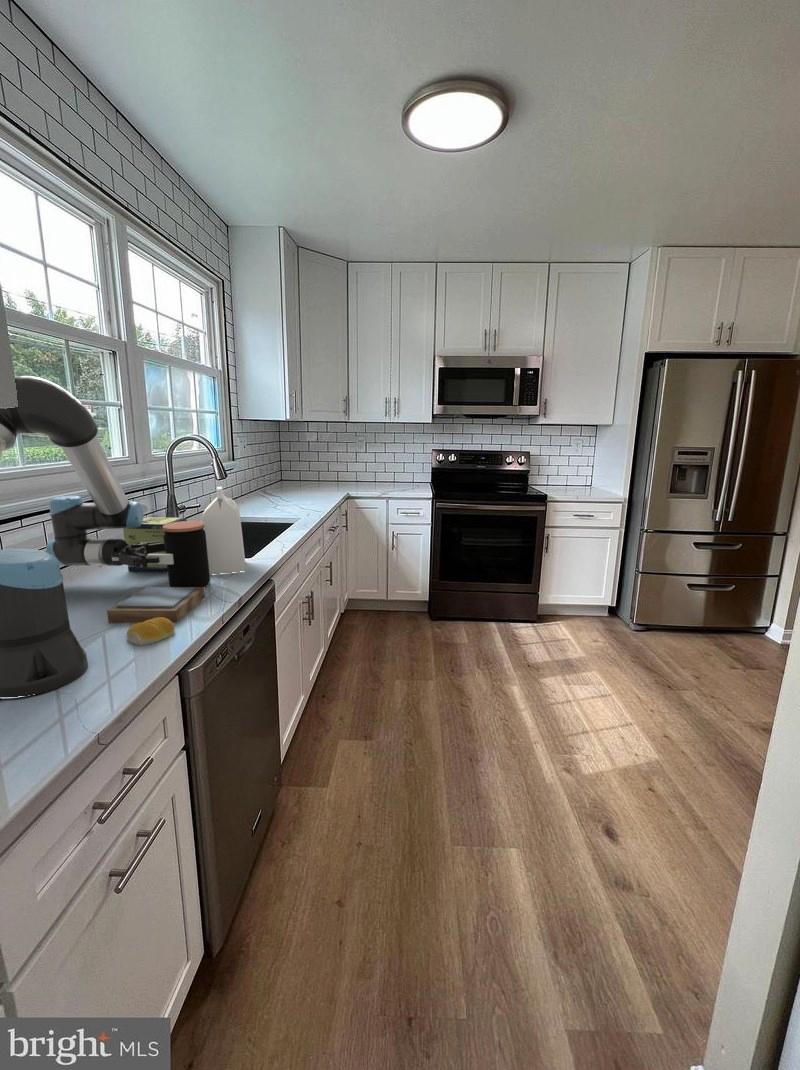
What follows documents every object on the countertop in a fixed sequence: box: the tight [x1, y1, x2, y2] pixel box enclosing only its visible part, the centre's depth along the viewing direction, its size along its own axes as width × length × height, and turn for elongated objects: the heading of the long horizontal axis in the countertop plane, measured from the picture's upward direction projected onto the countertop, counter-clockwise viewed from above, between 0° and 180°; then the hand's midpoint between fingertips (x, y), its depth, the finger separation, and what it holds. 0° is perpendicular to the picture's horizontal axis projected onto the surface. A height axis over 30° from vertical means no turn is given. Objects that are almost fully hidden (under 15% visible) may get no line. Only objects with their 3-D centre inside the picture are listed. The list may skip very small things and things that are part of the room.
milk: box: [202, 486, 246, 576], centre depth 146 cm, size 12×12×26 cm
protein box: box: [122, 516, 188, 573], centre depth 149 cm, size 10×16×16 cm
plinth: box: [106, 586, 206, 624], centre depth 116 cm, size 16×16×4 cm
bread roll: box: [126, 617, 175, 646], centre depth 101 cm, size 8×9×4 cm
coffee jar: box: [163, 520, 211, 588], centre depth 130 cm, size 11×11×18 cm
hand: (184, 552), depth 131 cm, fingers open, 13 cm apart
